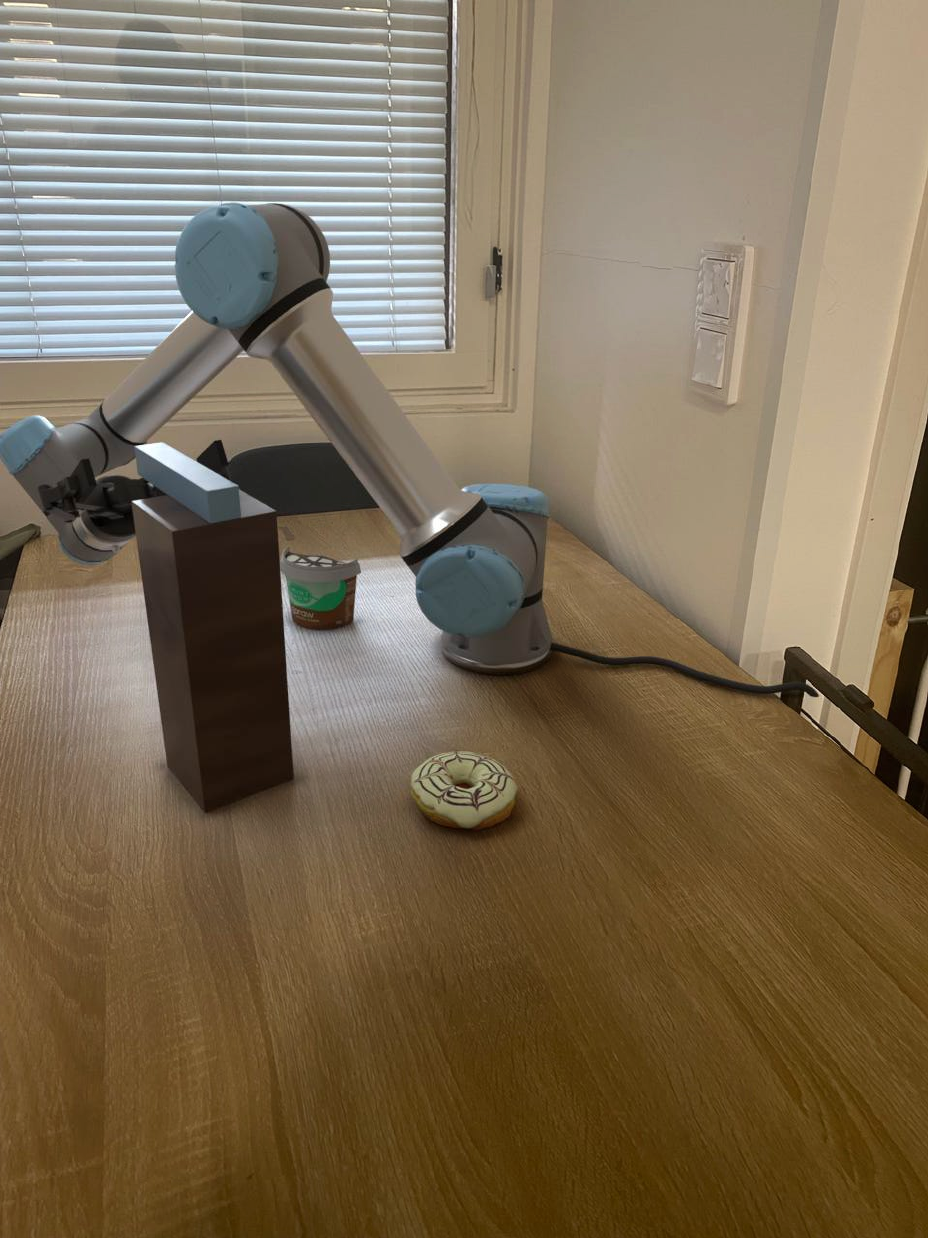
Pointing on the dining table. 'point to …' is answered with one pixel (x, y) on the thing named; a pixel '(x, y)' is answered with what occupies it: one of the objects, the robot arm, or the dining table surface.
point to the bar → (188, 482)
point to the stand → (217, 646)
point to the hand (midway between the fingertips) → (158, 461)
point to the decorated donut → (463, 790)
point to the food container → (320, 590)
